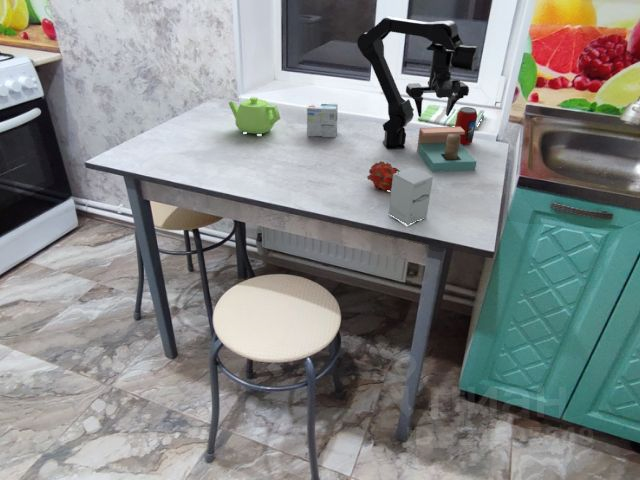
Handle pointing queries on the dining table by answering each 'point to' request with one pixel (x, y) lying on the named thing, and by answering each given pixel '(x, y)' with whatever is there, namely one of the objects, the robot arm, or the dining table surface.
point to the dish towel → (444, 115)
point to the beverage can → (466, 124)
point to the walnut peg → (452, 147)
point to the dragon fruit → (382, 175)
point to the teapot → (255, 115)
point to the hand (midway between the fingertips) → (433, 116)
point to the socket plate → (442, 150)
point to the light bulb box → (322, 119)
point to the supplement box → (410, 195)
